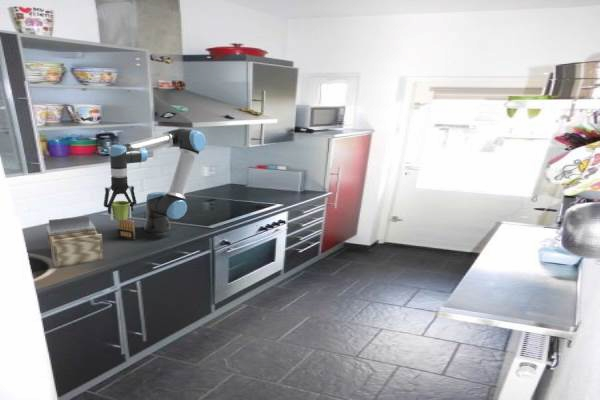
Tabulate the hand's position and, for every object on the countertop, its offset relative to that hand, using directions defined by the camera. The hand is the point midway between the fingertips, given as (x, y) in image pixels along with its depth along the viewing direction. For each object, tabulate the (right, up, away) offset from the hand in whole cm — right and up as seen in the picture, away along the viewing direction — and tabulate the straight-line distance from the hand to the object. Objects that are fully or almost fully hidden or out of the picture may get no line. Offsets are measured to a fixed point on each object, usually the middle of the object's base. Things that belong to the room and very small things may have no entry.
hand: (121, 218), depth 207 cm
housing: (-21, -18, -6) cm, 28 cm away
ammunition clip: (-6, -12, +21) cm, 25 cm away
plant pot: (0, 0, 0) cm, 1 cm away
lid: (-24, -5, -3) cm, 25 cm away
